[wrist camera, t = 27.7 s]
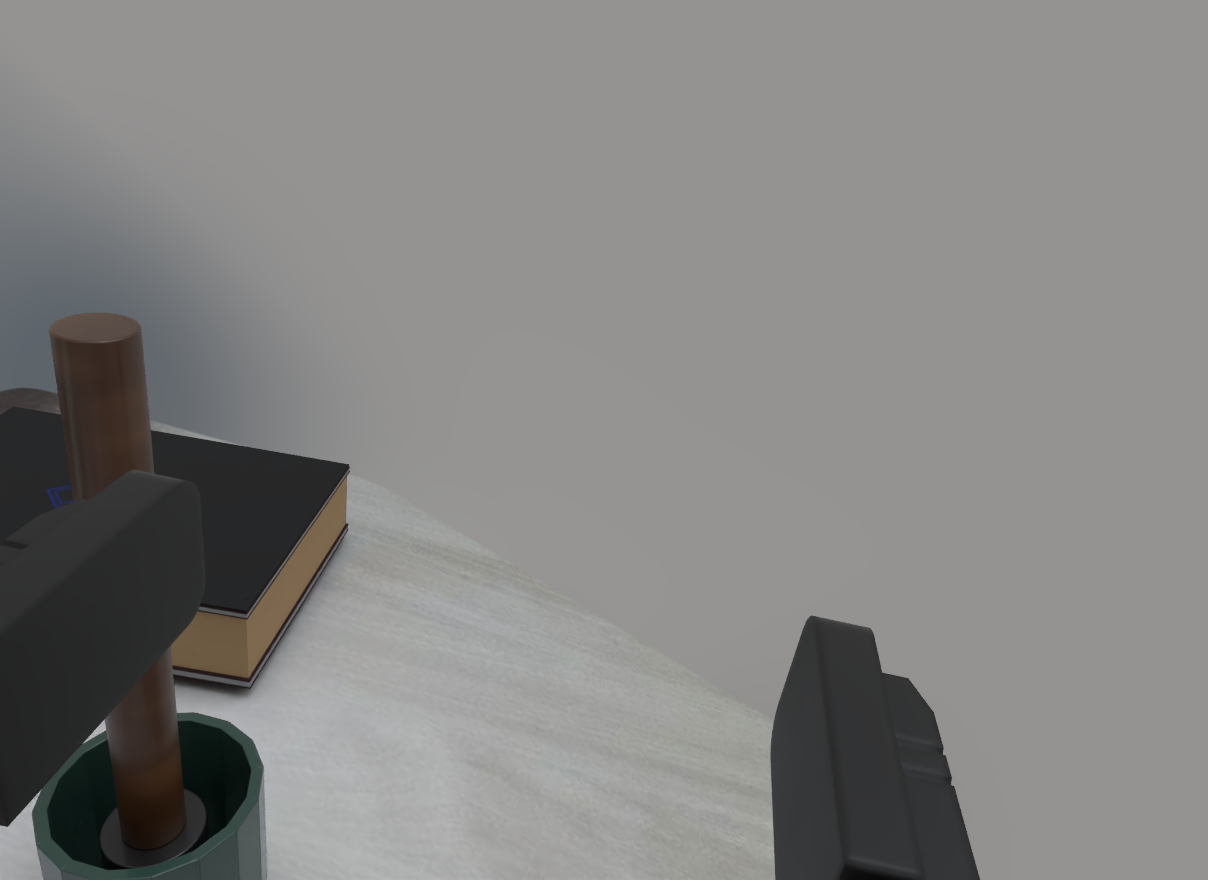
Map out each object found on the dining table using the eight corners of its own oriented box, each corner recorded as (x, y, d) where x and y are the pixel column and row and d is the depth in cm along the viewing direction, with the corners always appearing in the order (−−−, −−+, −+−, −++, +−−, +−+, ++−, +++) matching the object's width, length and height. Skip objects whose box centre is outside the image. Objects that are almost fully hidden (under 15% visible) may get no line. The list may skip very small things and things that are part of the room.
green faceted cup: (276, 840, 44) (273, 709, 40) (253, 1009, 37) (247, 870, 33) (94, 854, 42) (72, 716, 38) (34, 1035, 35) (-2, 890, 31)
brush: (231, 886, 40) (196, 318, 28) (182, 970, 37) (116, 363, 24) (149, 867, 41) (77, 294, 28) (92, 948, 37) (-19, 335, 24)
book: (27, 483, 67) (14, 405, 64) (348, 538, 67) (350, 463, 64) (-167, 627, 52) (-197, 534, 49) (250, 699, 52) (246, 611, 49)
